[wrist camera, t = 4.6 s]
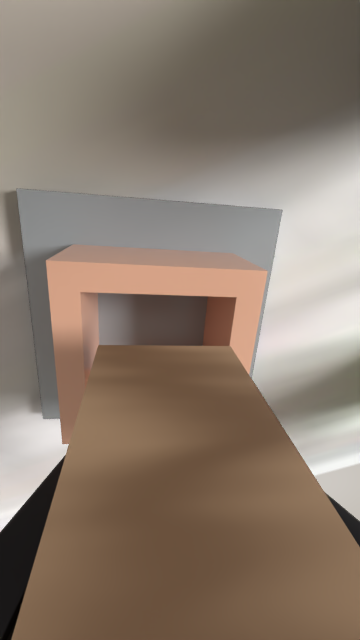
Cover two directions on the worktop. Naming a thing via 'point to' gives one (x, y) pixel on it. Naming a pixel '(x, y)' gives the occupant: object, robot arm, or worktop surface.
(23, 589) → the robot arm
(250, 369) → the terracotta well
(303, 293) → the worktop surface
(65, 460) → the walnut block
